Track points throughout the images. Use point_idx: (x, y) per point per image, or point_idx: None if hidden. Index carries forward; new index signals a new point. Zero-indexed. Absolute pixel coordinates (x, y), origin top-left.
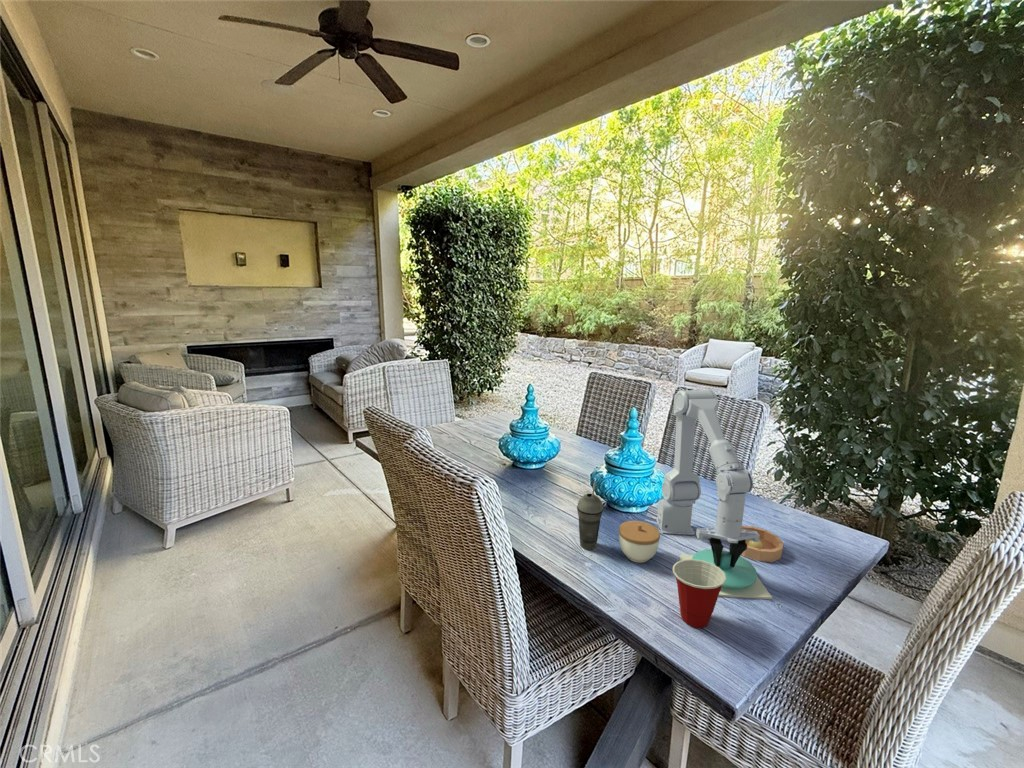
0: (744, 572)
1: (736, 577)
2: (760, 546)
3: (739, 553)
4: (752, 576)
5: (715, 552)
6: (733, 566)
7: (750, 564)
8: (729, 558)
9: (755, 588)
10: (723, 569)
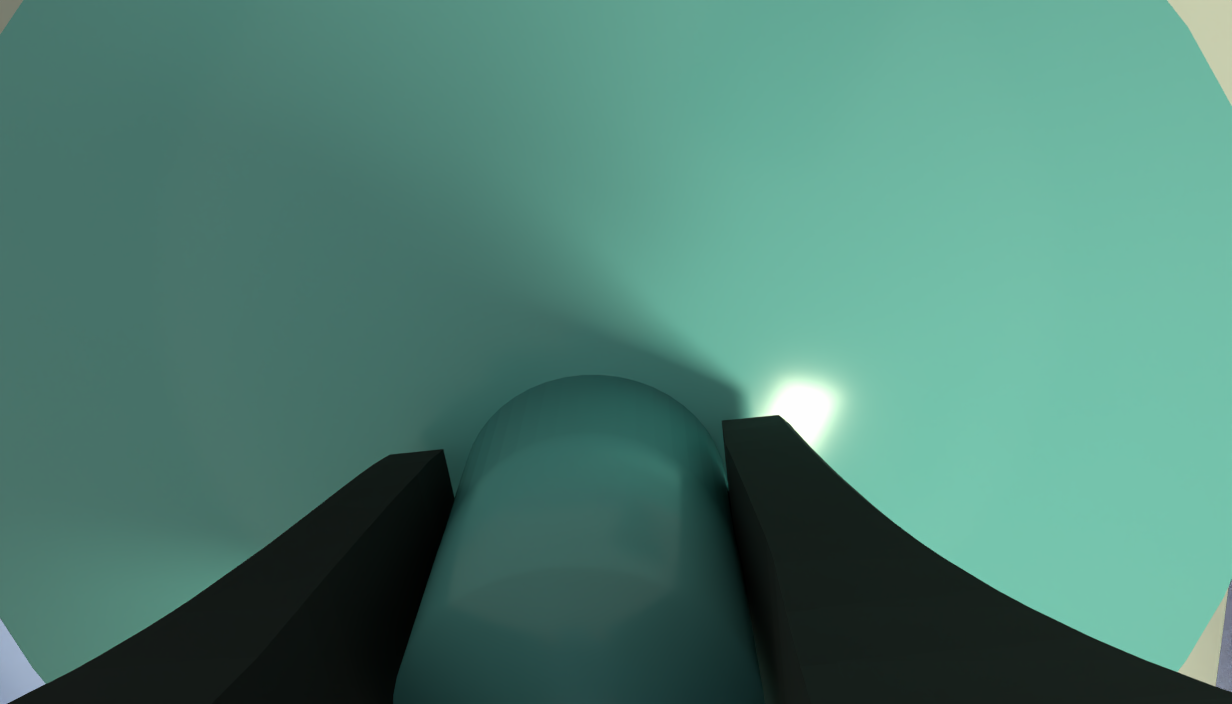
0: (180, 347)
1: (386, 118)
2: None
3: (93, 696)
4: (16, 231)
5: (1044, 616)
6: (394, 458)
7: (41, 635)
8: (476, 563)
9: None
10: (627, 378)
